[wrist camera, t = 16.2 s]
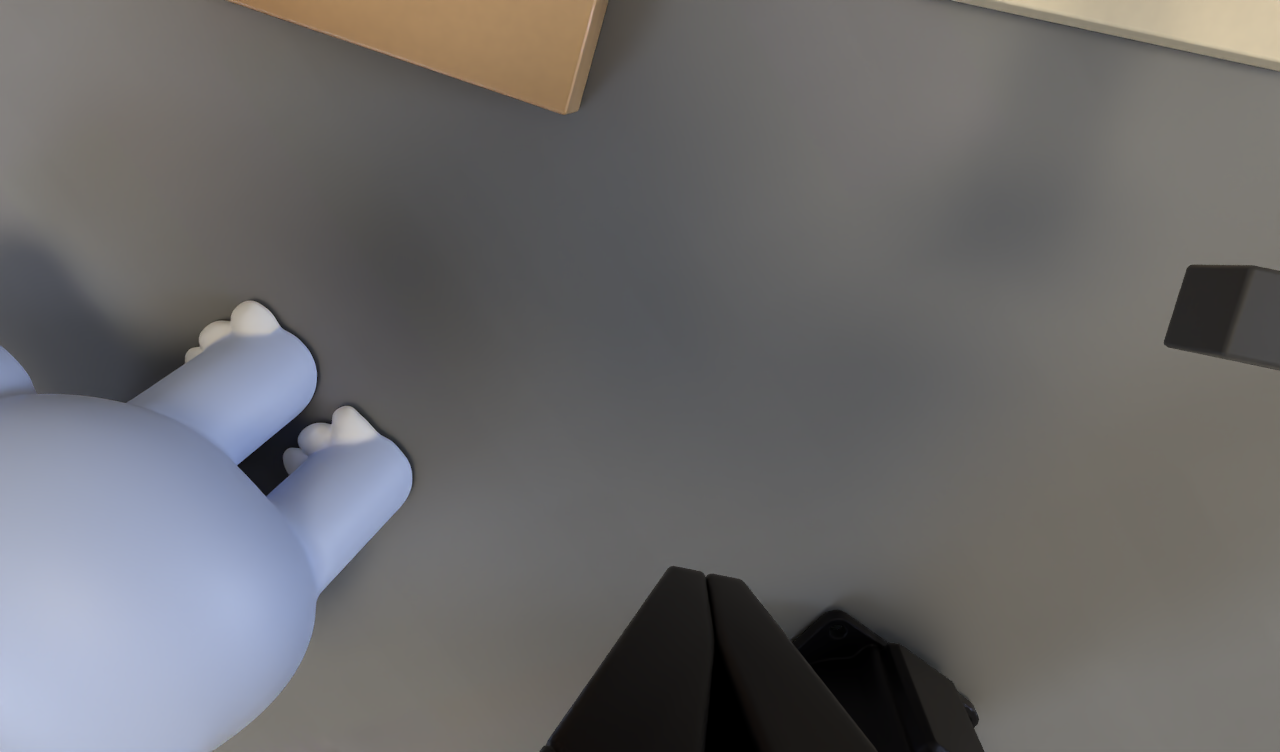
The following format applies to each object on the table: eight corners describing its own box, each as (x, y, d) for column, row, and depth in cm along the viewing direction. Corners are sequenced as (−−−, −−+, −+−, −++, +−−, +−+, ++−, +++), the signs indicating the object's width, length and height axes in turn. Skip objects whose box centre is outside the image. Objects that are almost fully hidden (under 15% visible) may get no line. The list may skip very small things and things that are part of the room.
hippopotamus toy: (106, 127, 20) (-360, 161, 11) (482, 530, 24) (362, 797, 15) (-116, 355, 23) (-634, 530, 14) (252, 683, 26) (35, 986, 18)
